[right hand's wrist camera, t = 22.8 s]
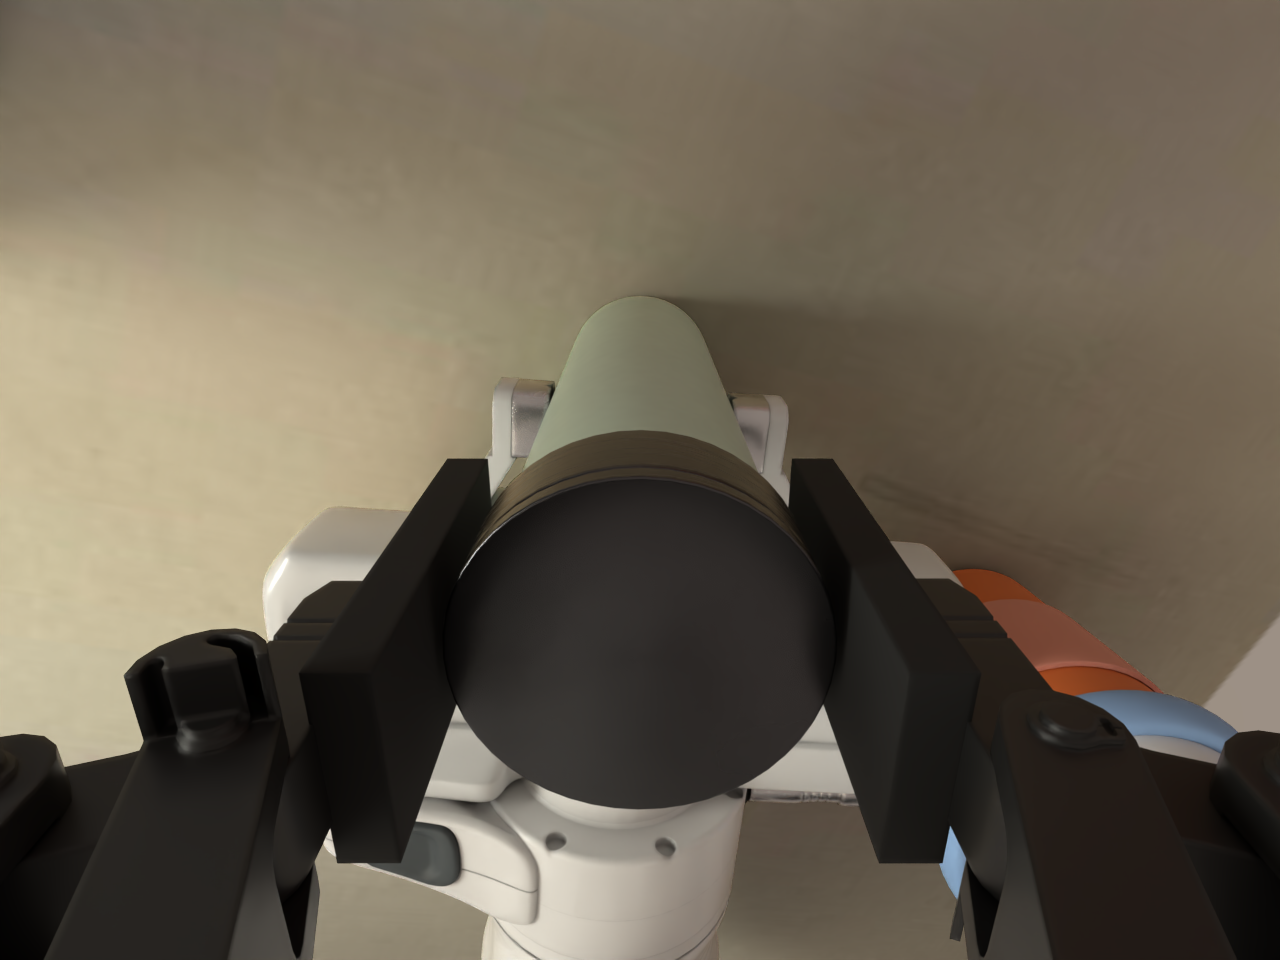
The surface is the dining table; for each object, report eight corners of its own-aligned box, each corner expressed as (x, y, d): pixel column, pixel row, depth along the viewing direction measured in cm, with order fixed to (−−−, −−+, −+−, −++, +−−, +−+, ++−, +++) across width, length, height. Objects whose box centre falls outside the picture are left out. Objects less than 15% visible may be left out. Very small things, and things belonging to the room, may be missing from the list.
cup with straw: (1119, 616, 30) (1708, 1150, 14) (953, 755, 33) (1276, 1345, 16) (966, 489, 28) (1439, 934, 12) (802, 648, 31) (994, 1198, 14)
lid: (744, 373, 11) (765, 413, 9) (848, 665, 13) (883, 747, 11) (411, 502, 12) (367, 563, 10) (555, 760, 13) (542, 850, 12)
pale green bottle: (611, 269, 25) (566, 407, 10) (734, 338, 26) (870, 566, 11) (548, 391, 27) (422, 678, 11) (665, 452, 28) (698, 796, 12)
